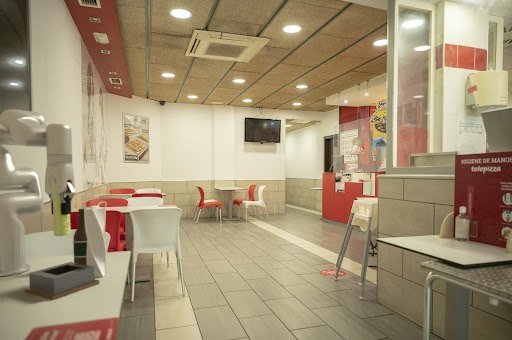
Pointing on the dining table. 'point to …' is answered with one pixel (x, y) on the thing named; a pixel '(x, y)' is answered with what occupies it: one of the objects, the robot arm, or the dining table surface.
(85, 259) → the beer bottle
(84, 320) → the dining table surface
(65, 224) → the tube
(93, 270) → the grey open tray box
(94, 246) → the skyscraper
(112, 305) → the dining table surface
